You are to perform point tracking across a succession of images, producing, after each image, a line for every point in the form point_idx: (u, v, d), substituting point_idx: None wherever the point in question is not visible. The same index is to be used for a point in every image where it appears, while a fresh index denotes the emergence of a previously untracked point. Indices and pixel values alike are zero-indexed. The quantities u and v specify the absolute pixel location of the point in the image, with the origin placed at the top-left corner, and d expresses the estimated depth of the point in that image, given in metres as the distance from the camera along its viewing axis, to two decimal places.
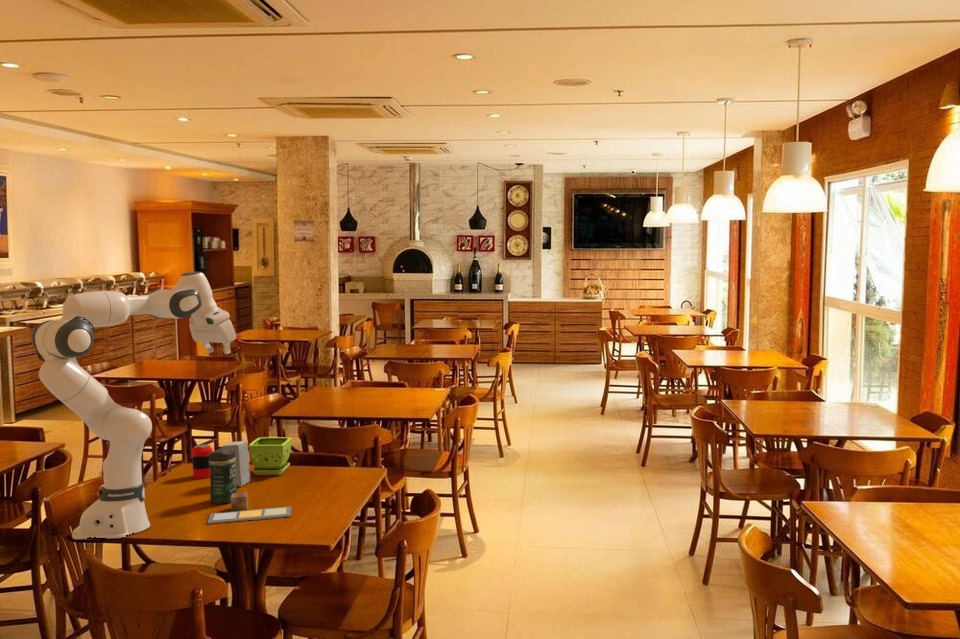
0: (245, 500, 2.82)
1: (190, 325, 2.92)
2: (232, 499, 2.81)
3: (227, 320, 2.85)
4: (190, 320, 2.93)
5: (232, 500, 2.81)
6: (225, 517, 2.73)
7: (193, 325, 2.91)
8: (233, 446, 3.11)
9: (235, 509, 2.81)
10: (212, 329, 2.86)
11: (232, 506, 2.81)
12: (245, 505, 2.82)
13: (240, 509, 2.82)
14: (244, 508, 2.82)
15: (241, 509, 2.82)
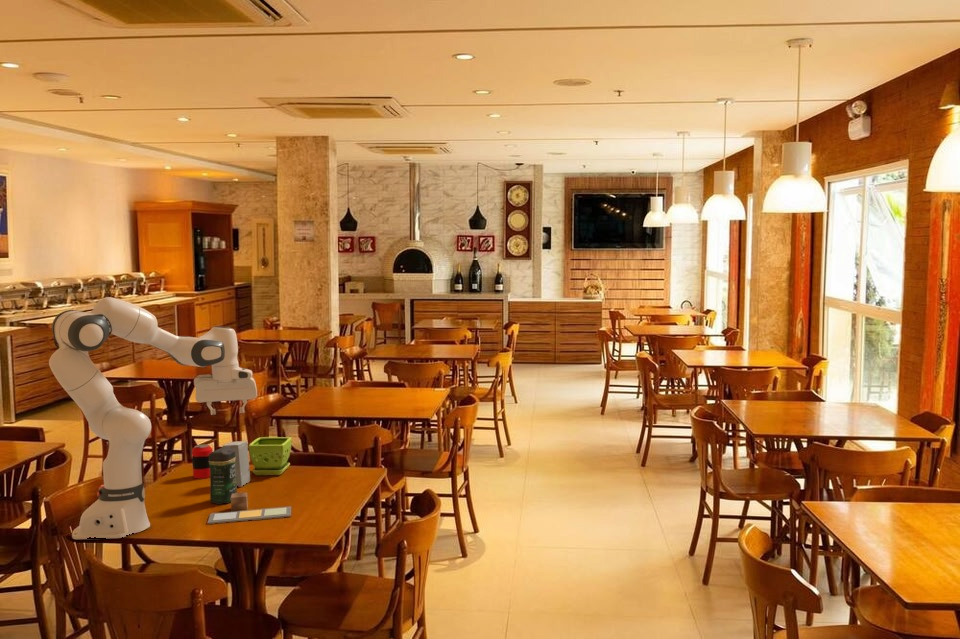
0: (245, 500, 2.82)
1: (200, 383, 2.83)
2: (232, 499, 2.81)
3: (251, 377, 2.90)
4: (196, 379, 2.84)
5: (232, 500, 2.81)
6: (225, 517, 2.73)
7: (205, 383, 2.83)
8: (233, 446, 3.11)
9: (235, 509, 2.81)
10: (235, 385, 2.86)
11: (232, 506, 2.81)
12: (245, 505, 2.82)
13: (240, 509, 2.82)
14: (244, 508, 2.82)
15: (241, 509, 2.82)
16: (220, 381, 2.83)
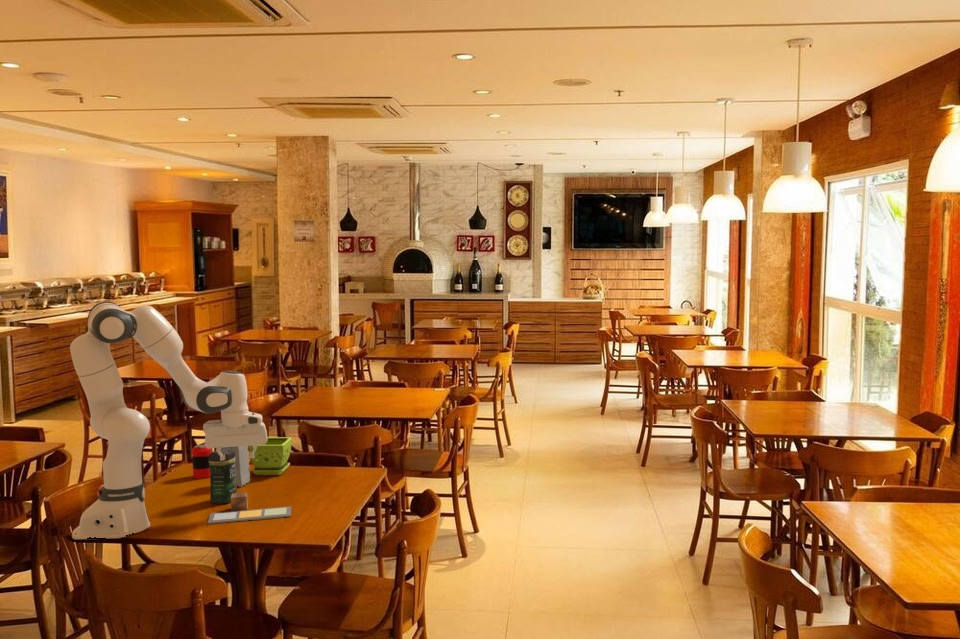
0: (245, 500, 2.82)
1: (209, 430, 2.78)
2: (232, 499, 2.81)
3: (261, 422, 2.85)
4: (206, 425, 2.79)
5: (232, 500, 2.81)
6: (225, 517, 2.73)
7: (215, 429, 2.79)
8: None
9: (235, 509, 2.81)
10: (245, 431, 2.81)
11: (232, 506, 2.81)
12: (245, 505, 2.82)
13: (240, 509, 2.82)
14: (244, 508, 2.82)
15: (241, 509, 2.82)
16: (230, 427, 2.79)
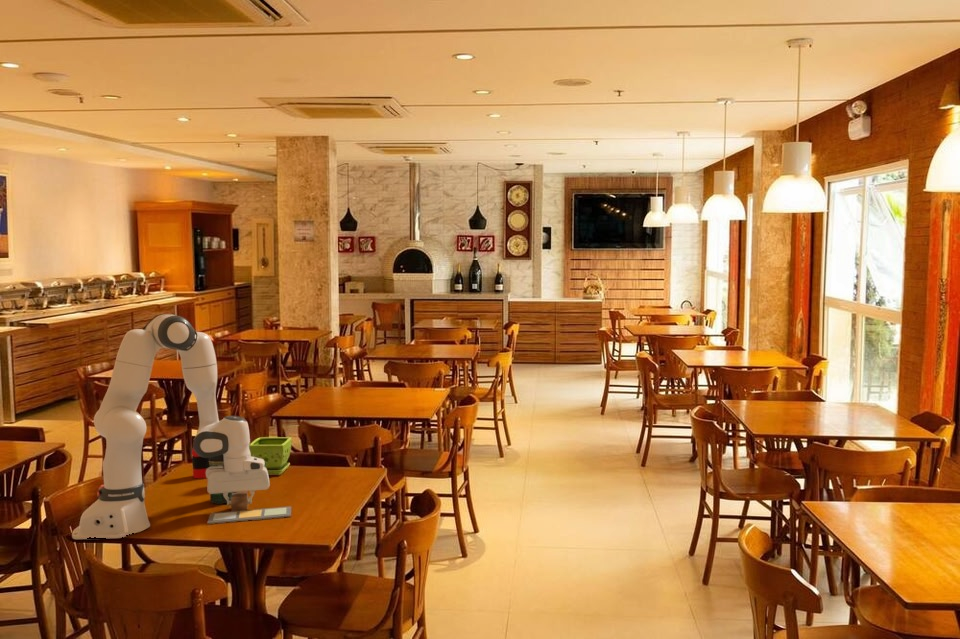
0: (245, 500, 2.82)
1: (211, 475, 2.80)
2: (232, 499, 2.81)
3: None
4: (208, 471, 2.81)
5: (232, 500, 2.81)
6: (225, 517, 2.73)
7: (217, 475, 2.80)
8: None
9: (235, 509, 2.81)
10: (247, 476, 2.82)
11: (232, 506, 2.81)
12: (245, 505, 2.82)
13: (240, 509, 2.82)
14: (244, 508, 2.82)
15: (241, 509, 2.82)
16: (232, 473, 2.80)
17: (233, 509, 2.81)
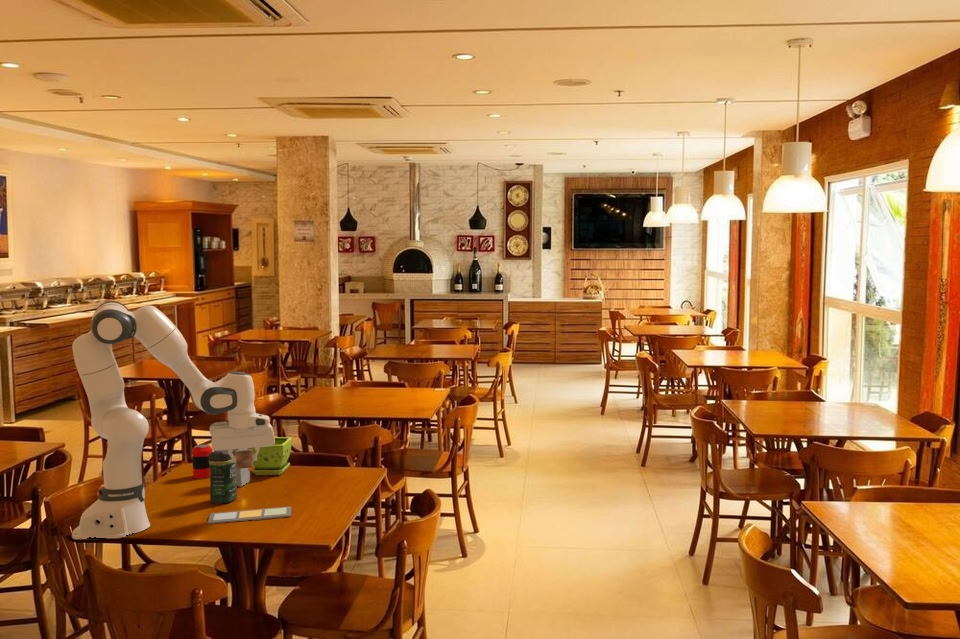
0: (250, 456, 2.77)
1: (216, 431, 2.74)
2: (237, 456, 2.76)
3: (269, 423, 2.81)
4: (212, 427, 2.75)
5: (237, 457, 2.76)
6: (225, 517, 2.73)
7: (221, 431, 2.75)
8: None
9: (240, 466, 2.76)
10: (252, 433, 2.77)
11: (237, 462, 2.76)
12: (250, 461, 2.77)
13: (245, 466, 2.76)
14: (249, 465, 2.77)
15: (246, 466, 2.77)
16: (237, 429, 2.75)
17: (238, 466, 2.76)
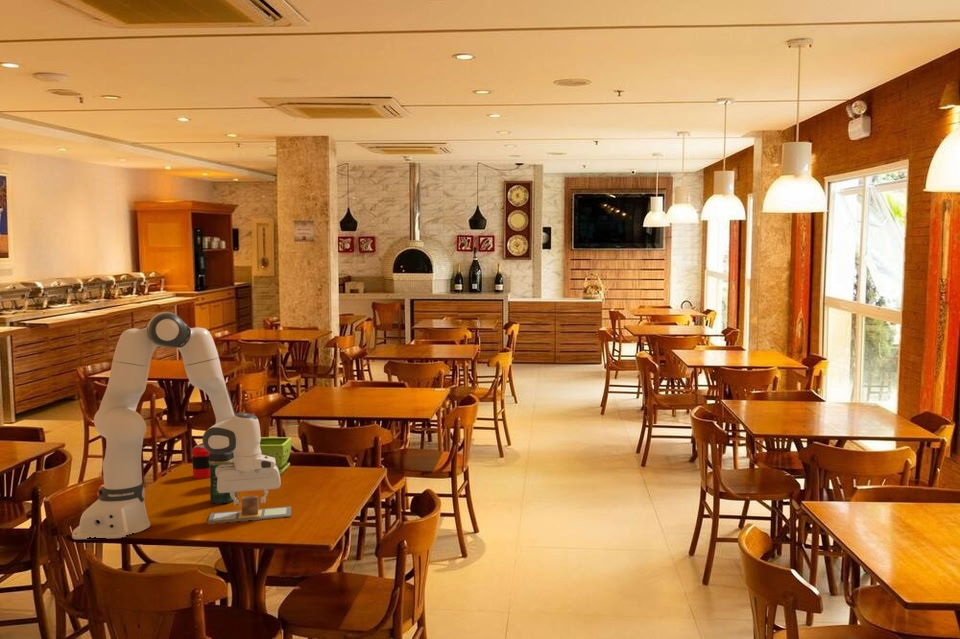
0: (256, 503, 2.75)
1: (221, 474, 2.73)
2: (242, 503, 2.74)
3: (274, 465, 2.79)
4: (218, 469, 2.74)
5: (242, 503, 2.74)
6: (225, 517, 2.73)
7: (227, 473, 2.73)
8: None
9: (246, 512, 2.74)
10: (258, 475, 2.75)
11: (243, 509, 2.74)
12: (256, 508, 2.75)
13: (251, 512, 2.75)
14: (255, 511, 2.75)
15: (252, 512, 2.75)
16: (242, 471, 2.73)
17: (243, 513, 2.74)
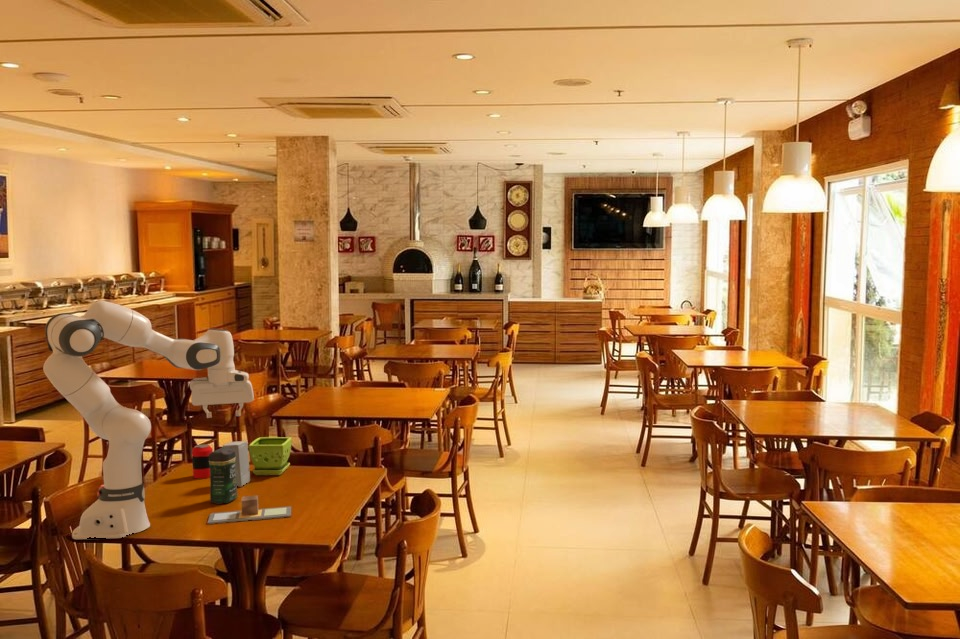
0: (256, 503, 2.75)
1: (195, 387, 2.80)
2: (242, 503, 2.74)
3: (248, 380, 2.87)
4: (192, 382, 2.81)
5: (242, 503, 2.74)
6: (225, 517, 2.73)
7: (201, 386, 2.81)
8: (233, 446, 3.11)
9: (246, 512, 2.74)
10: (231, 388, 2.83)
11: (243, 509, 2.74)
12: (256, 508, 2.75)
13: (251, 512, 2.75)
14: (255, 511, 2.75)
15: (252, 512, 2.75)
16: (216, 384, 2.81)
17: (243, 513, 2.74)
